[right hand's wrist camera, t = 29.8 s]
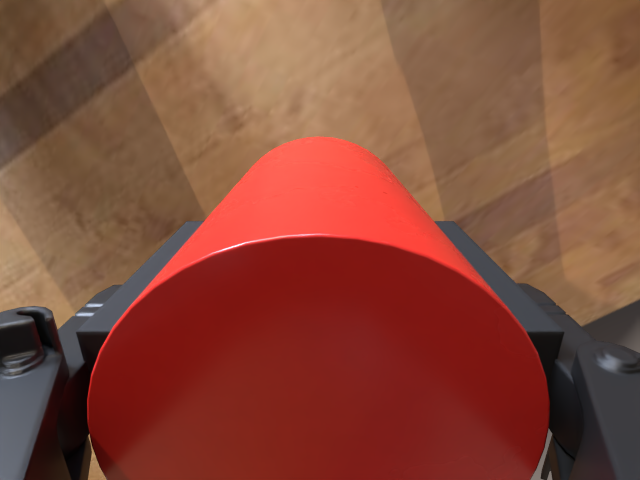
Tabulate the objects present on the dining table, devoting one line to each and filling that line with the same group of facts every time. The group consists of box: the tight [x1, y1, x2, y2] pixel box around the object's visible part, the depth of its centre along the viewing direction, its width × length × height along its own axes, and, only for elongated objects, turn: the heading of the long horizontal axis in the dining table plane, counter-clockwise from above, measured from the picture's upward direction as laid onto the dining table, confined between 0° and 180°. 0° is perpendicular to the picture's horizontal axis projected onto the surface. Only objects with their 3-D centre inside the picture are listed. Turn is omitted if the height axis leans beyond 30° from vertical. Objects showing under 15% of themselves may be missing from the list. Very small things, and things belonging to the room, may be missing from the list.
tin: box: [87, 137, 550, 480], centre depth 12 cm, size 8×8×11 cm
